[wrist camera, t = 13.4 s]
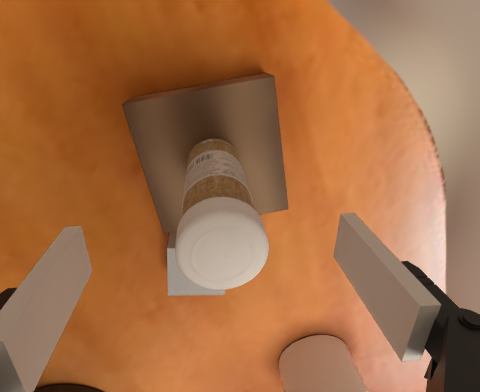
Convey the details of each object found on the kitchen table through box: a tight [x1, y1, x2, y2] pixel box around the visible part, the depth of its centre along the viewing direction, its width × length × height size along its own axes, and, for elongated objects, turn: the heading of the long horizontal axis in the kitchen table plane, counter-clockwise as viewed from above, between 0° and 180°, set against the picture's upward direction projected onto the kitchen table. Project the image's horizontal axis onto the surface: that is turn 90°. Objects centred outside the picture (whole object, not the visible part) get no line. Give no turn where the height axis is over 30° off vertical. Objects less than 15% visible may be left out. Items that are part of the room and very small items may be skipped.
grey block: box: [167, 231, 225, 296], centre depth 34 cm, size 6×6×4 cm
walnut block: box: [122, 73, 288, 234], centre depth 28 cm, size 12×12×4 cm
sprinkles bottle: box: [175, 138, 269, 290], centre depth 21 cm, size 5×5×14 cm
